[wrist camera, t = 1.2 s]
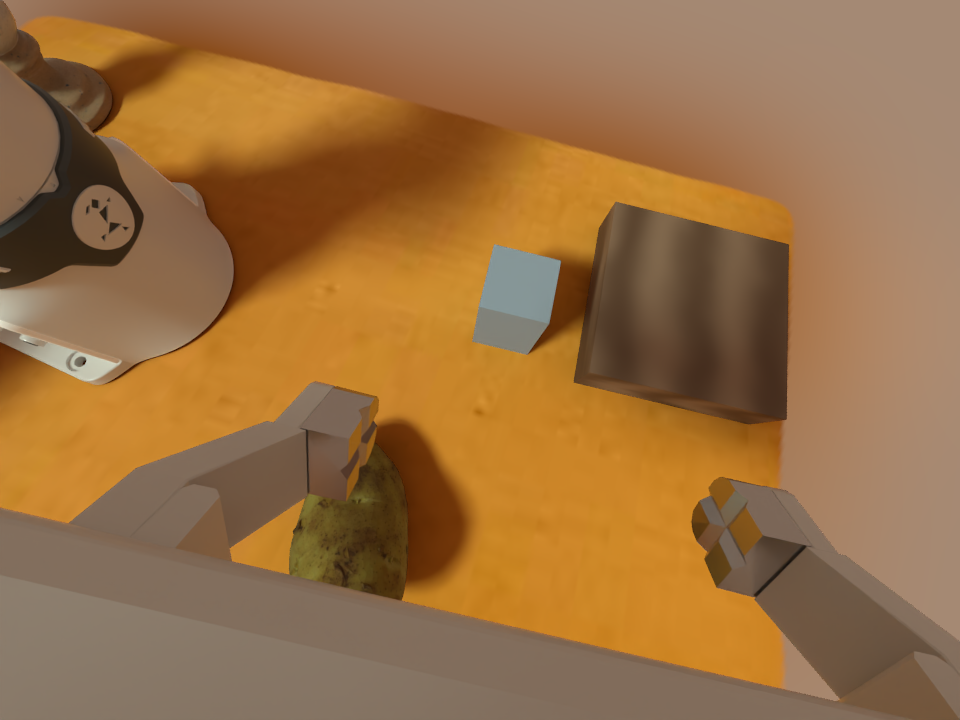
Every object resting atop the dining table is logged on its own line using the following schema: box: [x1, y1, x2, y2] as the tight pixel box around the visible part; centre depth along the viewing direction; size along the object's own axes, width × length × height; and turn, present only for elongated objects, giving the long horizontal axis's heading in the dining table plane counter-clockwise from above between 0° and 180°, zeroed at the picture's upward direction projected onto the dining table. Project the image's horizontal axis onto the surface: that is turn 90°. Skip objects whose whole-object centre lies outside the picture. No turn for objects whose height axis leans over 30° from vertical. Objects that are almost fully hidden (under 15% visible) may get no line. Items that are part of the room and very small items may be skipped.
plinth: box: [574, 202, 789, 424], centre depth 35 cm, size 16×16×4 cm
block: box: [472, 244, 561, 355], centre depth 31 cm, size 5×5×8 cm
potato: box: [289, 442, 408, 601], centre depth 26 cm, size 8×13×8 cm, turn 167°
